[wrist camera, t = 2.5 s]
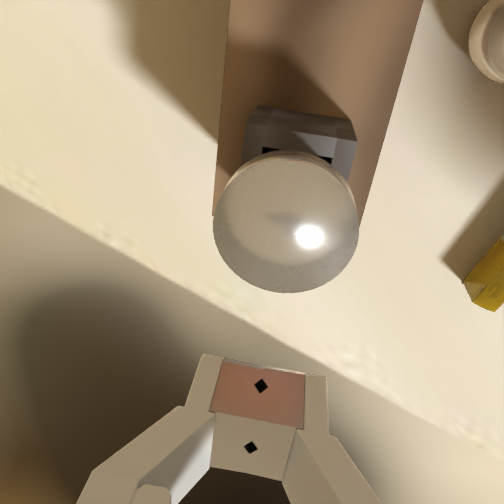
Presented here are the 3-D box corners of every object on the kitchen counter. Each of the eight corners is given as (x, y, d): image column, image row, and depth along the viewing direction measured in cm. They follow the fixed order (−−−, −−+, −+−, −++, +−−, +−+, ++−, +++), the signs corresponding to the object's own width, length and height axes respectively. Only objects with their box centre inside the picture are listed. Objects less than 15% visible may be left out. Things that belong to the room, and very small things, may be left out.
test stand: (422, -130, 28) (536, -287, 14) (345, 181, 39) (362, 280, 25) (274, -148, 29) (230, -318, 14) (239, 163, 40) (193, 250, 25)
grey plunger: (361, 134, 21) (376, 175, 16) (334, 238, 24) (340, 304, 19) (244, 115, 22) (219, 149, 16) (232, 220, 25) (207, 279, 19)
